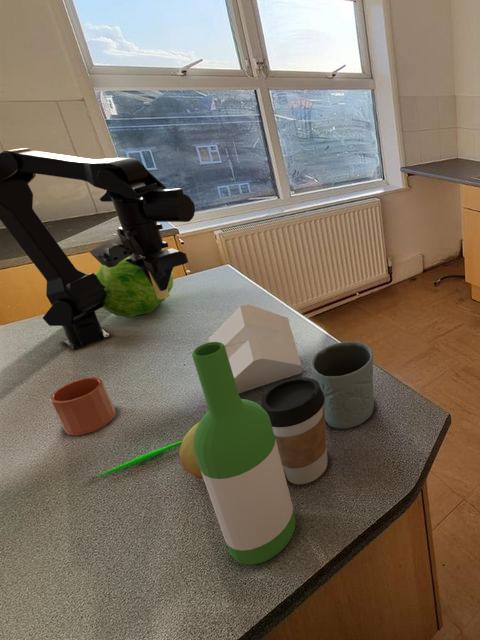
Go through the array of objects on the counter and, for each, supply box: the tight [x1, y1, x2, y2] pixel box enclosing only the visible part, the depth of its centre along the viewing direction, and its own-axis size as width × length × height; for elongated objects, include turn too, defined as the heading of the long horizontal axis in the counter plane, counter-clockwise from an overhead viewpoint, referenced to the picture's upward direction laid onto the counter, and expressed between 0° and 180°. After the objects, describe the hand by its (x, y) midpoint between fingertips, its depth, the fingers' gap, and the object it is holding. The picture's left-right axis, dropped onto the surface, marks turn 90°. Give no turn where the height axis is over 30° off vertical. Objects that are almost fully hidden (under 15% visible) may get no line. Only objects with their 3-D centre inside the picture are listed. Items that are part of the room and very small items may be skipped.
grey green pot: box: [310, 341, 375, 430], centre depth 76 cm, size 10×10×12 cm
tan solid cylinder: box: [148, 271, 171, 300], centre depth 94 cm, size 2×2×8 cm
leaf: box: [91, 440, 183, 480], centre depth 68 cm, size 1×14×1 cm, turn 131°
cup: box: [49, 376, 116, 436], centre depth 74 cm, size 6×6×7 cm
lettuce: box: [94, 257, 175, 318], centre depth 109 cm, size 15×23×16 cm
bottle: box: [191, 342, 297, 566], centre depth 51 cm, size 8×8×30 cm
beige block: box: [208, 304, 303, 394], centre depth 84 cm, size 14×11×18 cm
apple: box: [178, 421, 203, 479], centre depth 66 cm, size 10×10×8 cm
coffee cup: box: [260, 377, 329, 485], centre depth 64 cm, size 8×8×15 cm
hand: (160, 288), depth 95 cm, fingers closed on tan solid cylinder, 2 cm apart
